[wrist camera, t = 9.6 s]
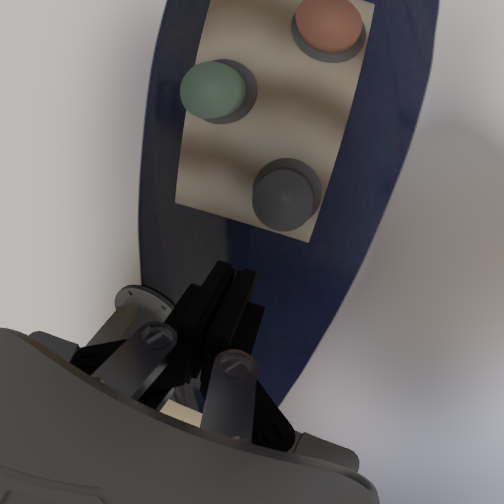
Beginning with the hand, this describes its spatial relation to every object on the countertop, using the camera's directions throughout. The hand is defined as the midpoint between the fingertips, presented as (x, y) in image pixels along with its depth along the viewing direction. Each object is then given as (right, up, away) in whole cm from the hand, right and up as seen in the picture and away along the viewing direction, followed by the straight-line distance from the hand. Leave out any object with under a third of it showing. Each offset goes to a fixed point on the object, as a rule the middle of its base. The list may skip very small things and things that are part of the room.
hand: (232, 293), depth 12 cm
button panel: (+2, +15, +9) cm, 18 cm away
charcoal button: (+4, +6, +10) cm, 12 cm away
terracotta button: (+6, +18, +2) cm, 19 cm away
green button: (-2, +14, +7) cm, 16 cm away
